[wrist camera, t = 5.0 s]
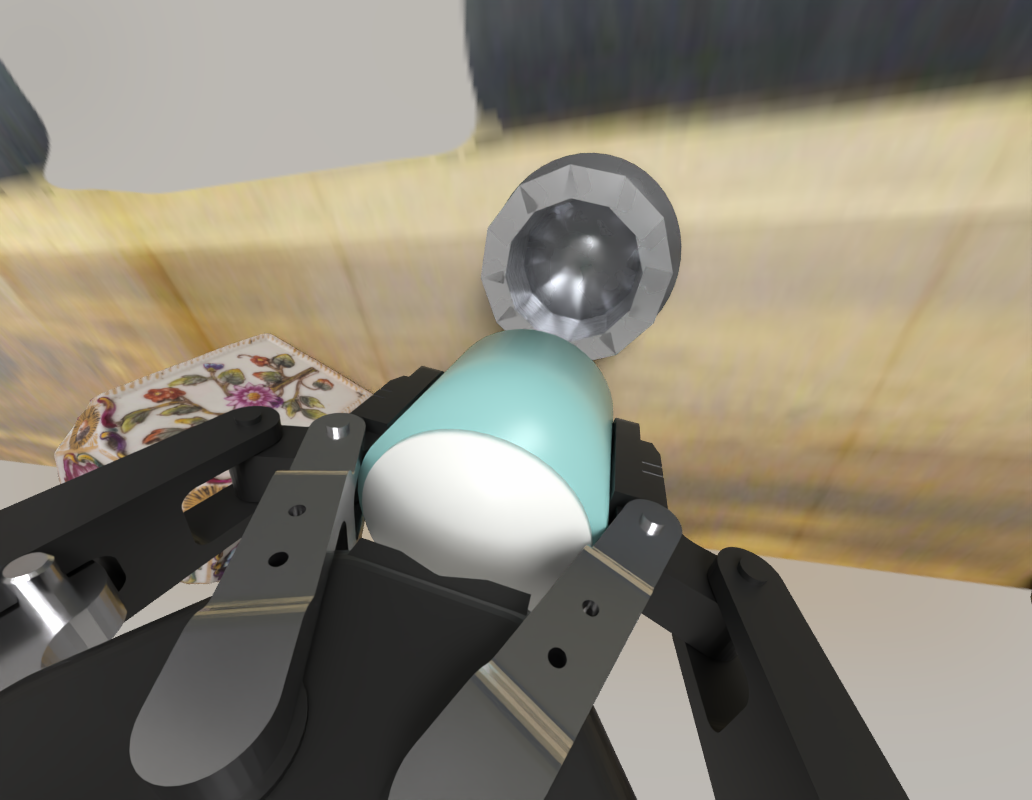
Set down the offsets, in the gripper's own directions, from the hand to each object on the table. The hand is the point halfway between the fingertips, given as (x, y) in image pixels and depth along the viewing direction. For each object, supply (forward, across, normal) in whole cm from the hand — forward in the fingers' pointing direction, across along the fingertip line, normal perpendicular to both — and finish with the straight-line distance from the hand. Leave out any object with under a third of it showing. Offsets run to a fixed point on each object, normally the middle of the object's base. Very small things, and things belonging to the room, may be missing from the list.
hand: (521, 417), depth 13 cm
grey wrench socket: (+16, 0, -3) cm, 17 cm away
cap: (+1, 0, 0) cm, 1 cm away
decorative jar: (+17, +23, +16) cm, 32 cm away
